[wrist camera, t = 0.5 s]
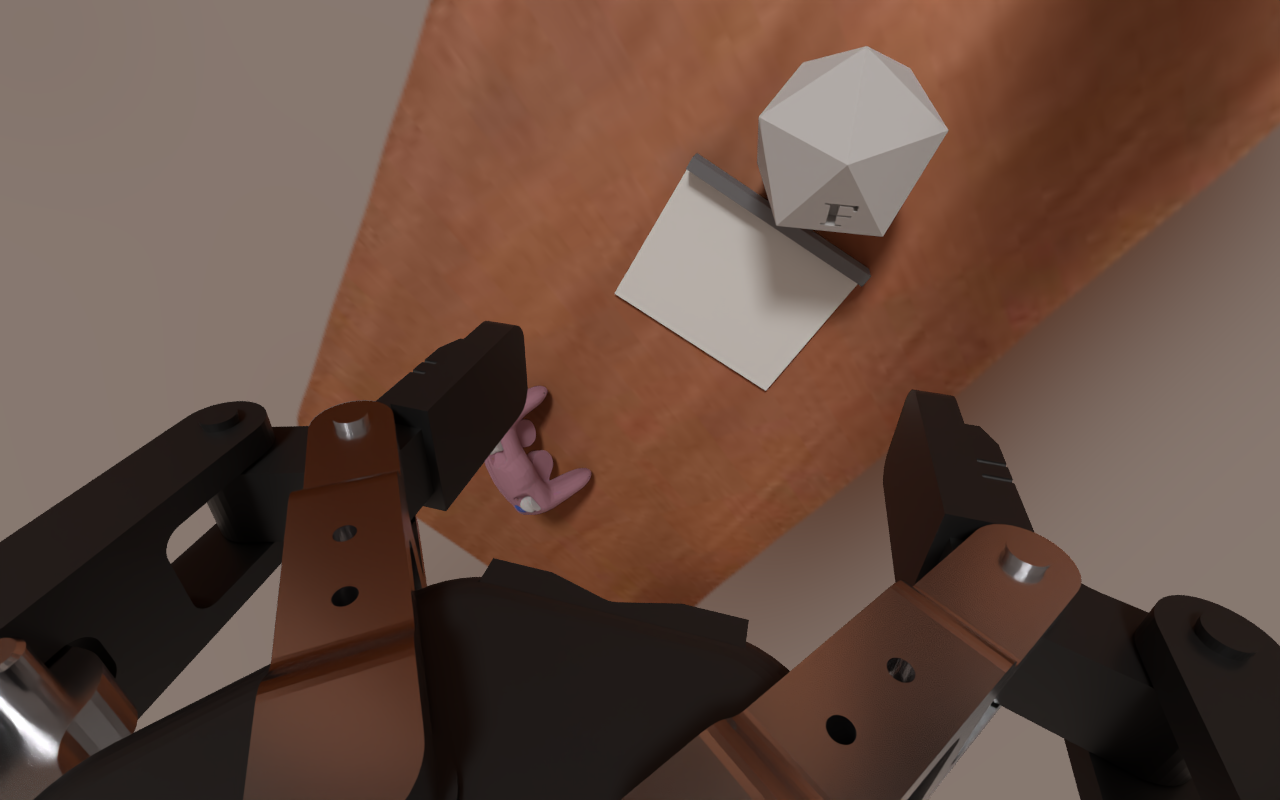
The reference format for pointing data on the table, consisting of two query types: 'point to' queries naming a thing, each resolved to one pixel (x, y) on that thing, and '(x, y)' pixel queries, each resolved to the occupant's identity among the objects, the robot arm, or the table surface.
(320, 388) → the table surface
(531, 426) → the video game controller
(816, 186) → the die
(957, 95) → the table surface
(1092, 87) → the table surface
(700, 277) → the white l-shaped plate
